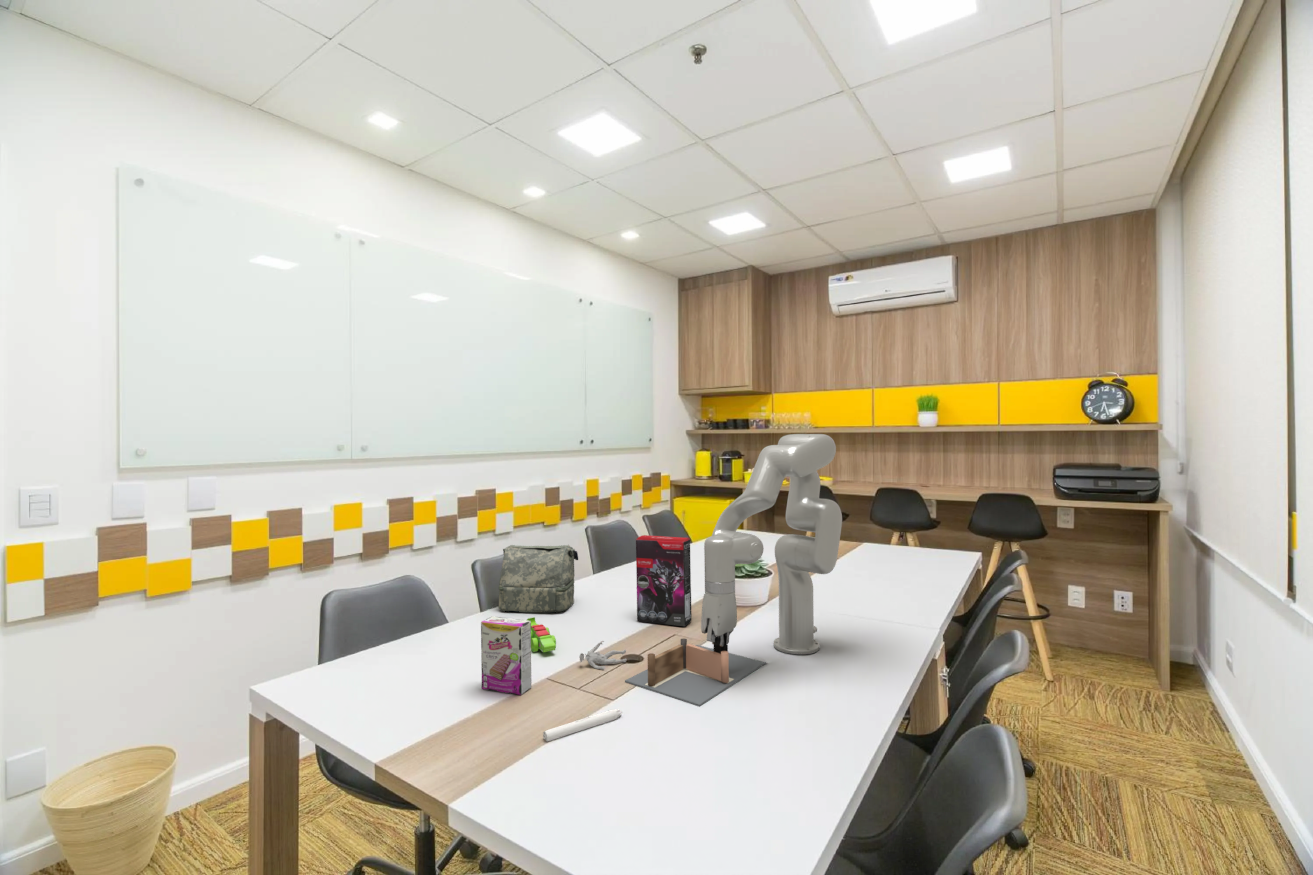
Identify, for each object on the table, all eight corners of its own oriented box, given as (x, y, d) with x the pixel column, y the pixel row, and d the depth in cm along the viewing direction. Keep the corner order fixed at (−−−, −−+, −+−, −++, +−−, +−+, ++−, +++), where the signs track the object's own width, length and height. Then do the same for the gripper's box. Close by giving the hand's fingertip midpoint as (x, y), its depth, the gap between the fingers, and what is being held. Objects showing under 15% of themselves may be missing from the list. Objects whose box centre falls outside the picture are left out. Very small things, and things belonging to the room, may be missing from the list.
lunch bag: (582, 601, 220) (581, 541, 220) (566, 616, 202) (565, 550, 202) (514, 598, 225) (513, 539, 224) (493, 612, 207) (492, 549, 206)
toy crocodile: (560, 655, 166) (560, 633, 166) (536, 659, 164) (536, 637, 164) (544, 634, 184) (543, 614, 184) (522, 637, 182) (522, 617, 182)
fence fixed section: (682, 665, 156) (682, 637, 156) (688, 667, 155) (688, 639, 155) (646, 684, 145) (646, 654, 145) (652, 686, 144) (651, 656, 144)
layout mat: (696, 646, 172) (696, 644, 172) (766, 663, 159) (766, 661, 159) (624, 681, 148) (624, 680, 148) (699, 706, 134) (699, 704, 134)
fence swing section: (685, 668, 154) (685, 641, 154) (690, 666, 155) (689, 639, 155) (725, 683, 145) (725, 653, 144) (730, 680, 146) (730, 651, 146)
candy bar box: (480, 690, 144) (479, 621, 144) (492, 682, 149) (491, 615, 149) (521, 696, 140) (520, 625, 140) (532, 687, 145) (531, 619, 145)
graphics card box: (635, 622, 195) (634, 537, 195) (643, 616, 201) (643, 534, 201) (685, 628, 188) (684, 540, 188) (692, 621, 194) (691, 537, 194)
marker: (619, 714, 131) (619, 703, 131) (624, 718, 130) (624, 707, 130) (542, 739, 121) (542, 727, 121) (547, 743, 119) (547, 731, 119)
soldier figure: (628, 671, 157) (586, 664, 152) (619, 679, 160) (577, 672, 155) (626, 643, 163) (585, 635, 158) (617, 651, 166) (577, 644, 161)
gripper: (723, 578, 159) (723, 648, 159) (690, 590, 147) (691, 665, 147) (748, 582, 154) (749, 654, 154) (716, 595, 142) (717, 673, 142)
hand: (720, 659), depth 151 cm, fingers closed
